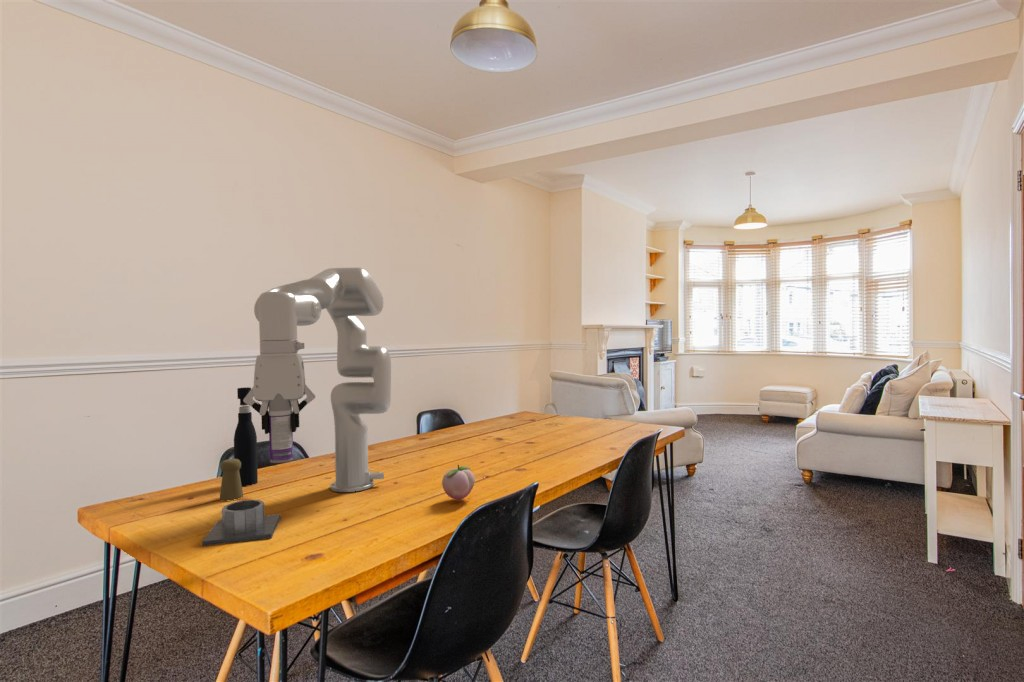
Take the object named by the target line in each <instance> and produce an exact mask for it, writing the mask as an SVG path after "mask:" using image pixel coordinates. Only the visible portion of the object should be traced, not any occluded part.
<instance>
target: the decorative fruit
mask: <svg viewBox="0 0 1024 682" xmlns="http://www.w3.org/2000/svg"><path fill="white" fill-rule="evenodd" d="M475 482H476V478H475V475H474V474H473V473H472V471H471V468H470V467H469V466H465V465H459V464H457V467H455V468H452V469H449V470H447V472H445V474H444V475H443V477H442V480H441V486H442V489H443V491H444V492H445V494H446V495H447V496H448V497H449V498H451V499H452V500H454V501H458V502H460V501H462V500H464V499H465V498H467V496H469V495H470V493H471V492H472V490H473V488H474V486H475Z"/></svg>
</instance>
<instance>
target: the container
mask: <svg viewBox="0 0 1024 682" xmlns="http://www.w3.org/2000/svg"><path fill="white" fill-rule="evenodd" d="M268 411H269V433H268V434H269V436H268V437H269V439H268V440H269V444H268V445H269V462H270V463H272V464H282V463H287V462H291V461H293V460H294V443H293V442H294V438H293V437H294V436H293V433H294V432H292V431H291V414H292V411H293V408H292V405H291V402H290V400H285V399H284V398H283V397H282V395H281V394H279V393H278V394H276V396H275V397H274V400H272V401H269V408H268Z"/></svg>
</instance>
